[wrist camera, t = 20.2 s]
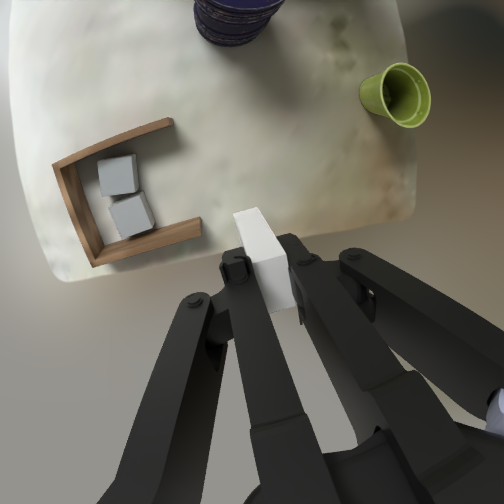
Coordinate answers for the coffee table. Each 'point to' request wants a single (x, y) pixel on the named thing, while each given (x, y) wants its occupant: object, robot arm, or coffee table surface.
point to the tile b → (132, 215)
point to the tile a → (118, 175)
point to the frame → (84, 218)
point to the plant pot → (398, 95)
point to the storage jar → (233, 19)
